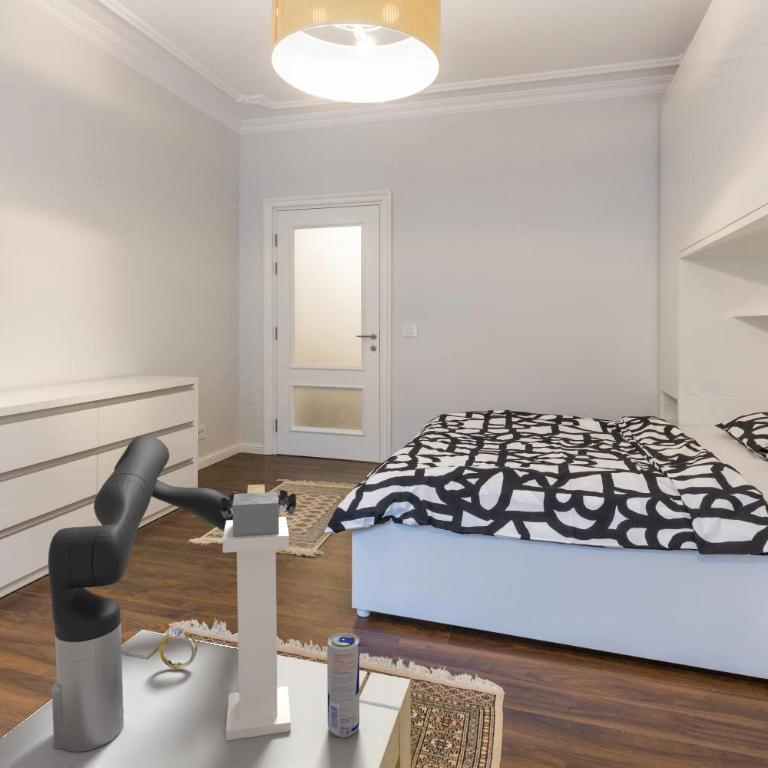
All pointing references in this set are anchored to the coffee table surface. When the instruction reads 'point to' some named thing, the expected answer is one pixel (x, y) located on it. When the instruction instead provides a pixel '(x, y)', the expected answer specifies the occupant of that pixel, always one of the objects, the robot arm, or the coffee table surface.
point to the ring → (178, 634)
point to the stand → (257, 637)
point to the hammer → (255, 512)
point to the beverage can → (343, 684)
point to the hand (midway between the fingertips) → (258, 495)
